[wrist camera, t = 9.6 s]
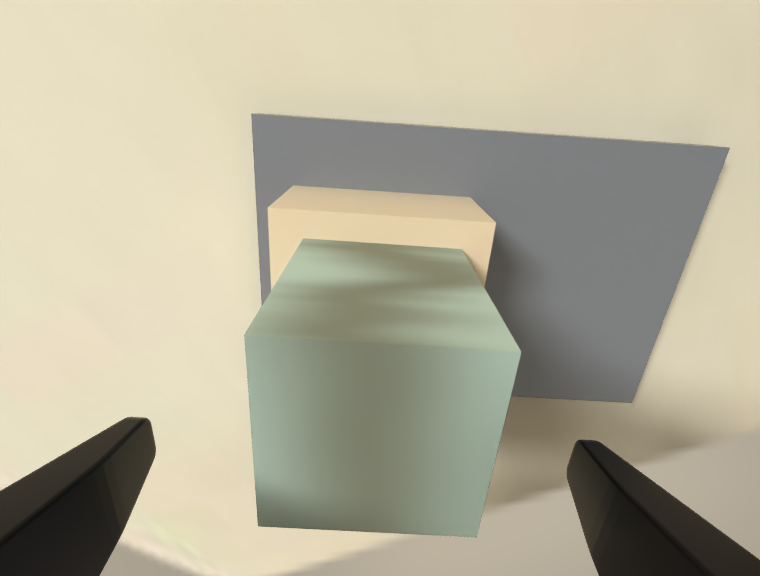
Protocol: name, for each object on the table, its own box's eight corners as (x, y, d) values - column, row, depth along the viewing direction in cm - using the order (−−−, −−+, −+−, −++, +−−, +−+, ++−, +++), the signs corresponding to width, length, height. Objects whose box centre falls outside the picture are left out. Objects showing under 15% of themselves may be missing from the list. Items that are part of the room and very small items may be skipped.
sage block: (461, 249, 13) (521, 351, 7) (441, 379, 15) (476, 537, 9) (303, 238, 13) (244, 335, 7) (304, 371, 15) (258, 526, 9)
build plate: (710, 145, 16) (837, 159, 12) (620, 390, 21) (686, 467, 17) (258, 113, 16) (209, 114, 11) (271, 370, 21) (239, 444, 16)
